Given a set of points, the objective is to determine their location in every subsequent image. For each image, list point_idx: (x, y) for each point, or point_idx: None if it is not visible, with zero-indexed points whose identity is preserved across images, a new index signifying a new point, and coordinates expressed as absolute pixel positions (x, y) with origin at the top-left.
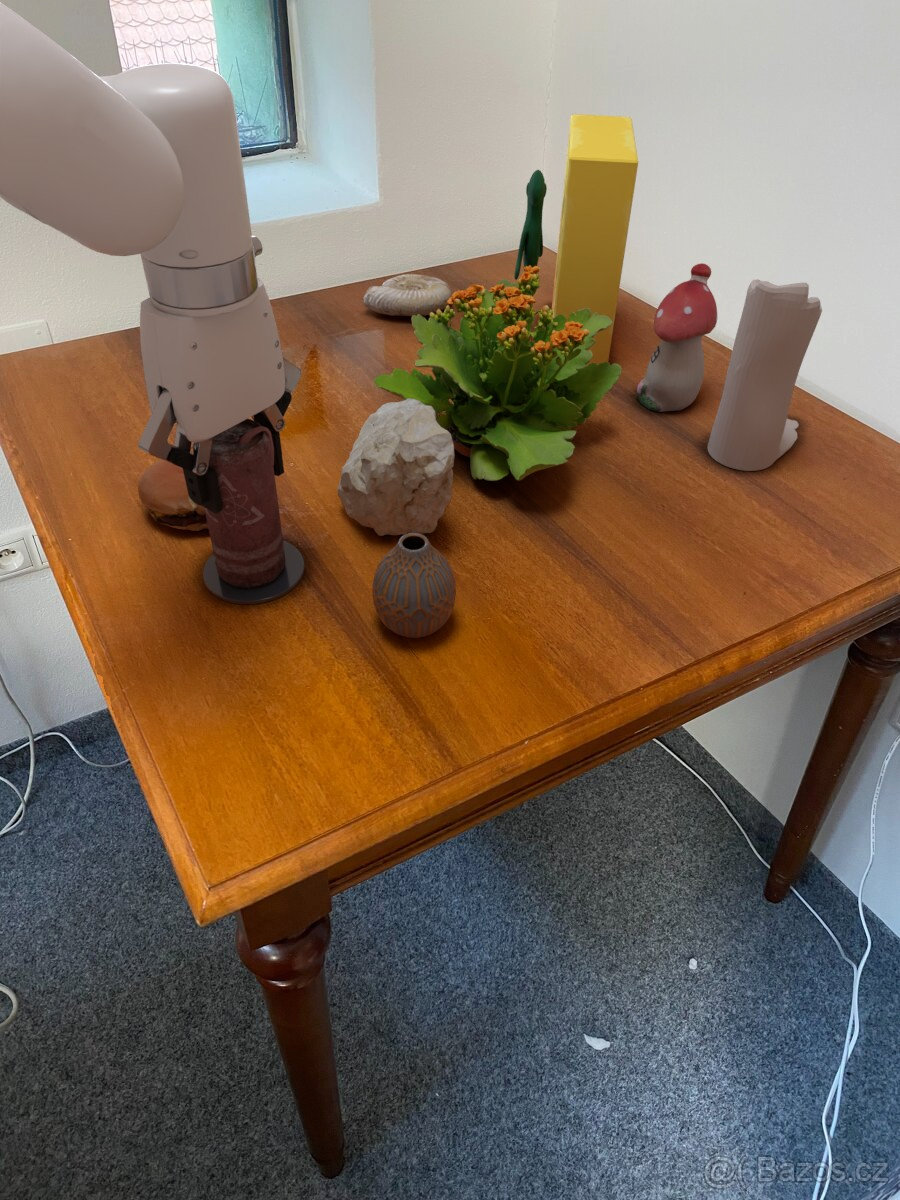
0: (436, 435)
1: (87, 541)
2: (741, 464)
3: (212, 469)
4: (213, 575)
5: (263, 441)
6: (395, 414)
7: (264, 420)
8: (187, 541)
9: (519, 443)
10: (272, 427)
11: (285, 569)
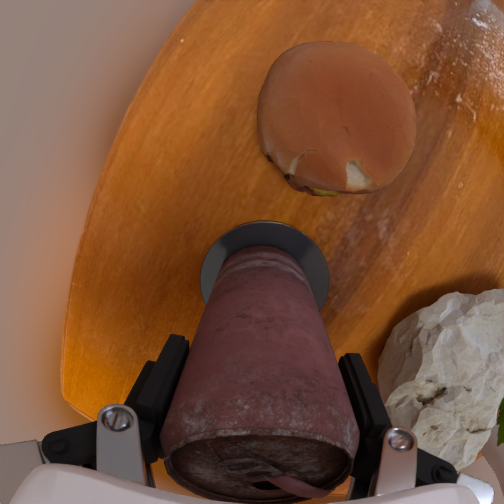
0: None
1: (189, 57)
2: None
3: None
4: (223, 253)
5: (285, 499)
6: (490, 405)
7: (365, 473)
8: (264, 164)
9: None
10: (353, 478)
11: None
